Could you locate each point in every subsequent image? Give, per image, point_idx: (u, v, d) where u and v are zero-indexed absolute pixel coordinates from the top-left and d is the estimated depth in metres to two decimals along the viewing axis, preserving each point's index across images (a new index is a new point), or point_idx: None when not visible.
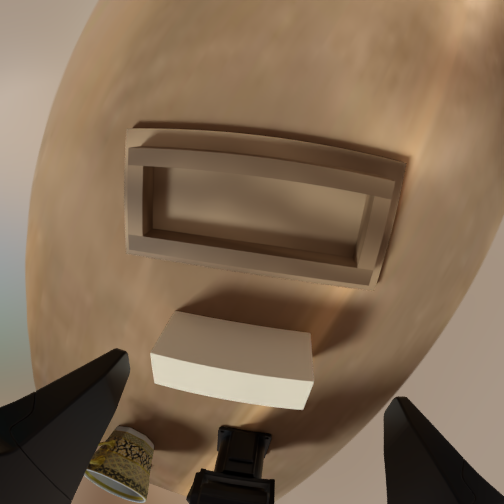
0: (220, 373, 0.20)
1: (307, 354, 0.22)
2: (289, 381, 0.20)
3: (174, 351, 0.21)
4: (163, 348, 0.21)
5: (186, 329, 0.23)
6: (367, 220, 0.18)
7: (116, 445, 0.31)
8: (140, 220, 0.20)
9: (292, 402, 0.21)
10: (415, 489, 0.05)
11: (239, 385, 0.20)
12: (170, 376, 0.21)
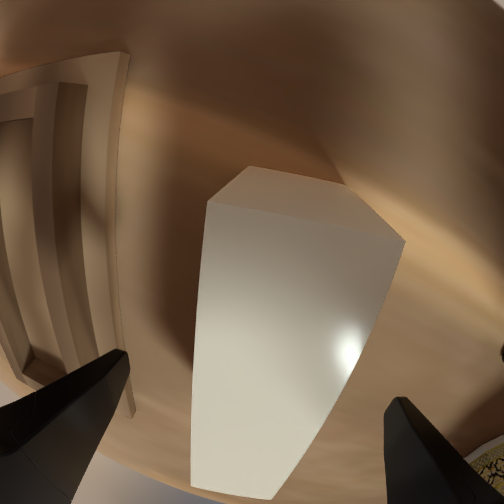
0: (208, 433, 0.07)
1: None
2: (209, 292, 0.06)
3: None
4: None
5: None
6: None
7: None
8: None
9: (346, 283, 0.05)
10: (415, 489, 0.05)
11: (247, 413, 0.07)
12: (243, 485, 0.09)
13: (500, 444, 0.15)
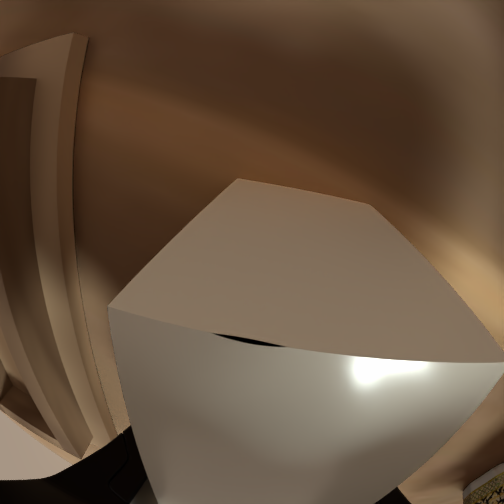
0: None
1: None
2: (150, 437, 0.03)
3: None
4: None
5: None
6: None
7: None
8: (42, 432, 0.11)
9: (396, 436, 0.02)
10: None
11: None
12: None
13: None
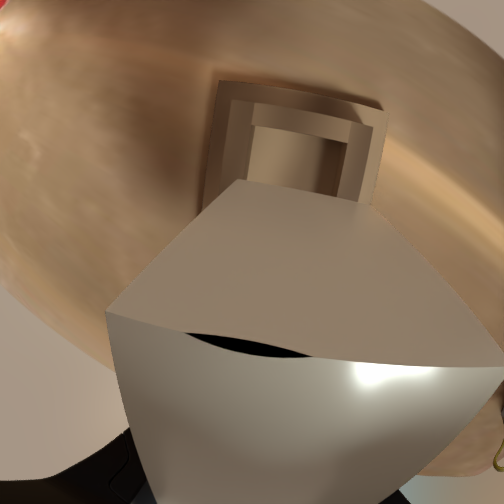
0: None
1: None
2: (149, 440, 0.03)
3: None
4: None
5: None
6: None
7: None
8: None
9: (397, 440, 0.02)
10: None
11: None
12: None
13: None
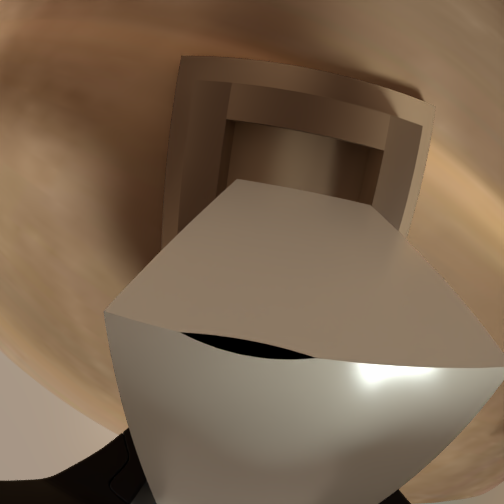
0: None
1: None
2: (148, 440, 0.03)
3: None
4: None
5: None
6: (283, 127, 0.09)
7: None
8: None
9: (397, 440, 0.02)
10: None
11: None
12: None
13: None
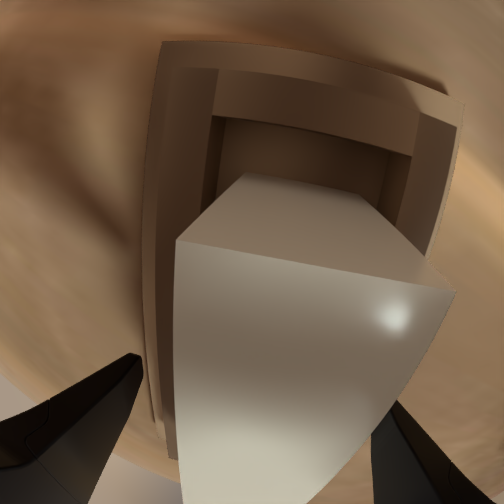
0: (200, 484, 0.06)
1: None
2: (187, 357, 0.04)
3: None
4: None
5: None
6: (285, 125, 0.07)
7: None
8: None
9: (374, 348, 0.04)
10: (401, 491, 0.05)
11: (242, 472, 0.05)
12: None
13: None
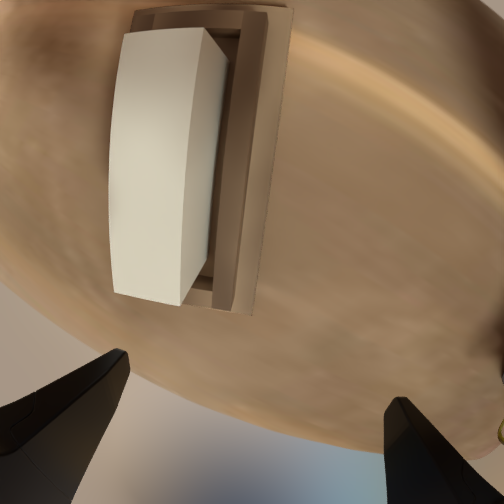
0: (118, 184, 0.11)
1: None
2: (122, 69, 0.10)
3: None
4: None
5: None
6: None
7: None
8: (193, 290, 0.18)
9: (178, 50, 0.09)
10: (415, 489, 0.05)
11: (139, 150, 0.11)
12: (151, 272, 0.13)
13: None
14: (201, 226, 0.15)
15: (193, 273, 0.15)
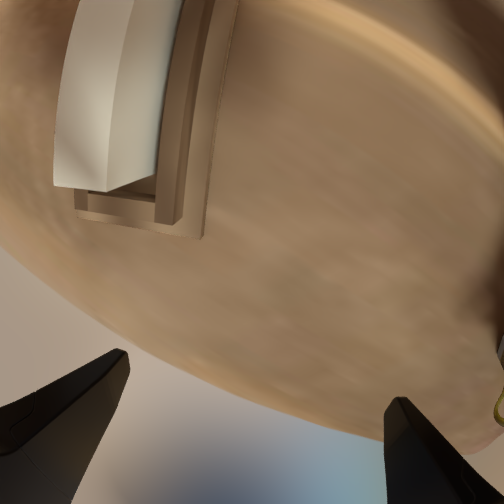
0: (68, 80, 0.10)
1: None
2: None
3: None
4: None
5: None
6: None
7: None
8: (137, 202, 0.17)
9: None
10: (415, 489, 0.05)
11: (87, 49, 0.10)
12: (84, 157, 0.12)
13: None
14: (144, 129, 0.14)
15: (130, 172, 0.14)
